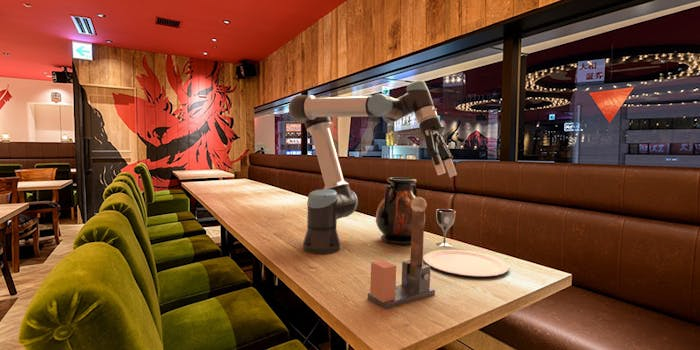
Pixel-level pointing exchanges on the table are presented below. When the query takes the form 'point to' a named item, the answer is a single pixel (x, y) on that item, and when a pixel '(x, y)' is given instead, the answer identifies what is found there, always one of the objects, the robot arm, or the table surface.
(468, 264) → the plate
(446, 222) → the wine glass
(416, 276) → the press base
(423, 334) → the table surface
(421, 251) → the lever
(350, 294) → the table surface
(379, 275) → the stop block
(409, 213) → the amphora vase
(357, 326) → the table surface
